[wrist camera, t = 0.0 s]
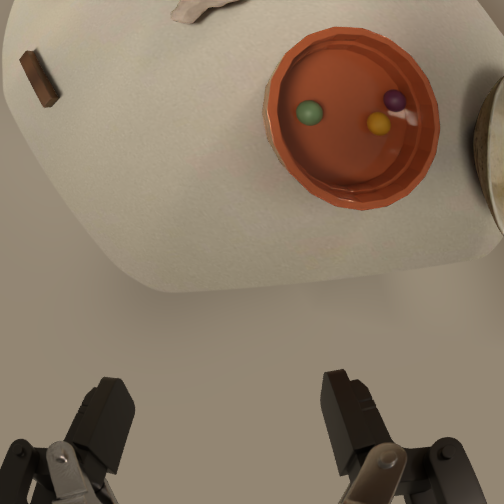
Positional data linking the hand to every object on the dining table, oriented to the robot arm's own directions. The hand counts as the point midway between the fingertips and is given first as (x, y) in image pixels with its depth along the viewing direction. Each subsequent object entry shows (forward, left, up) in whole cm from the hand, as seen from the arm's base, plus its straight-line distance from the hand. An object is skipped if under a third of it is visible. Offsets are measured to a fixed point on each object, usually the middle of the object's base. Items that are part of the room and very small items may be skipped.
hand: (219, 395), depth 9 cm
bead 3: (-19, +10, -20) cm, 30 cm away
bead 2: (-16, +10, -20) cm, 27 cm away
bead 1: (-12, +3, -20) cm, 24 cm away
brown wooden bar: (-7, -29, -22) cm, 38 cm away
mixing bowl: (-14, +7, -22) cm, 27 cm away
